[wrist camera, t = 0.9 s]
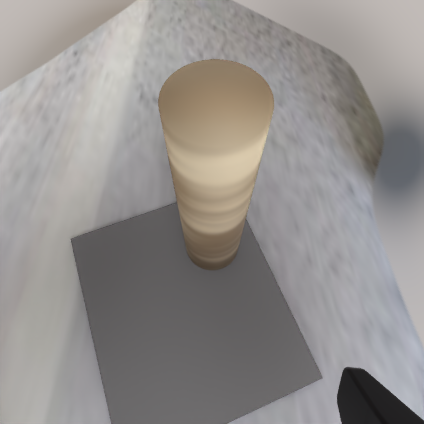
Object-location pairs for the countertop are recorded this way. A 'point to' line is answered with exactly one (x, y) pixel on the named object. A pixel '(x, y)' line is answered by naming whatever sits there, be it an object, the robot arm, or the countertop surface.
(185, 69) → the peg
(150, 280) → the mat
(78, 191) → the countertop surface
